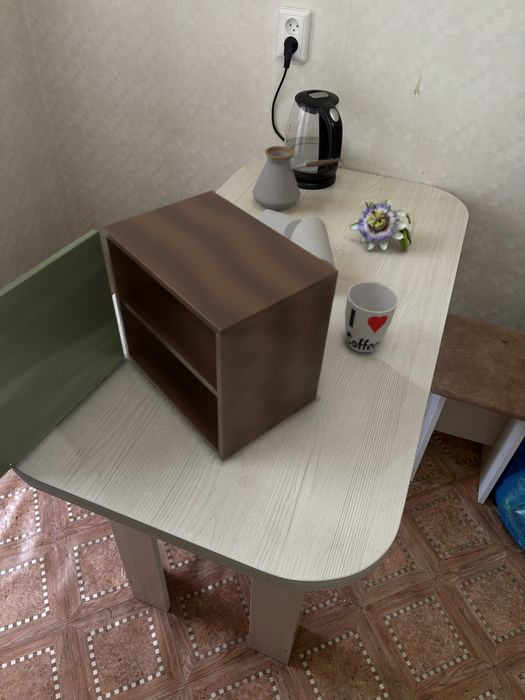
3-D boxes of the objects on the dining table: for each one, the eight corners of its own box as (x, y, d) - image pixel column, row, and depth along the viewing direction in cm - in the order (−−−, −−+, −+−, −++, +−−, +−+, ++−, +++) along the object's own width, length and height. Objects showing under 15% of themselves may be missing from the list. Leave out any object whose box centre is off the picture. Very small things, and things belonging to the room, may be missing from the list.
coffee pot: (243, 206, 121) (244, 144, 111) (267, 188, 128) (270, 128, 118) (323, 233, 114) (332, 169, 103) (343, 212, 121) (354, 150, 111)
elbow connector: (360, 254, 106) (275, 228, 112) (365, 214, 97) (273, 188, 103) (325, 314, 97) (236, 281, 103) (328, 276, 89) (230, 243, 95)
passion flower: (366, 270, 113) (341, 228, 107) (379, 239, 119) (355, 198, 113) (413, 259, 106) (389, 213, 100) (424, 227, 112) (402, 182, 106)
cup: (332, 350, 86) (341, 304, 79) (345, 322, 92) (354, 276, 85) (379, 364, 84) (392, 318, 77) (389, 334, 90) (402, 289, 83)
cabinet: (223, 461, 69) (220, 330, 53) (127, 356, 83) (101, 227, 66) (316, 399, 78) (338, 270, 61) (215, 314, 92) (211, 190, 75)
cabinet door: (-45, 457, 68) (-134, 323, 51) (88, 342, 85) (53, 214, 68) (-3, 482, 65) (-82, 349, 49) (125, 359, 82) (99, 230, 66)
